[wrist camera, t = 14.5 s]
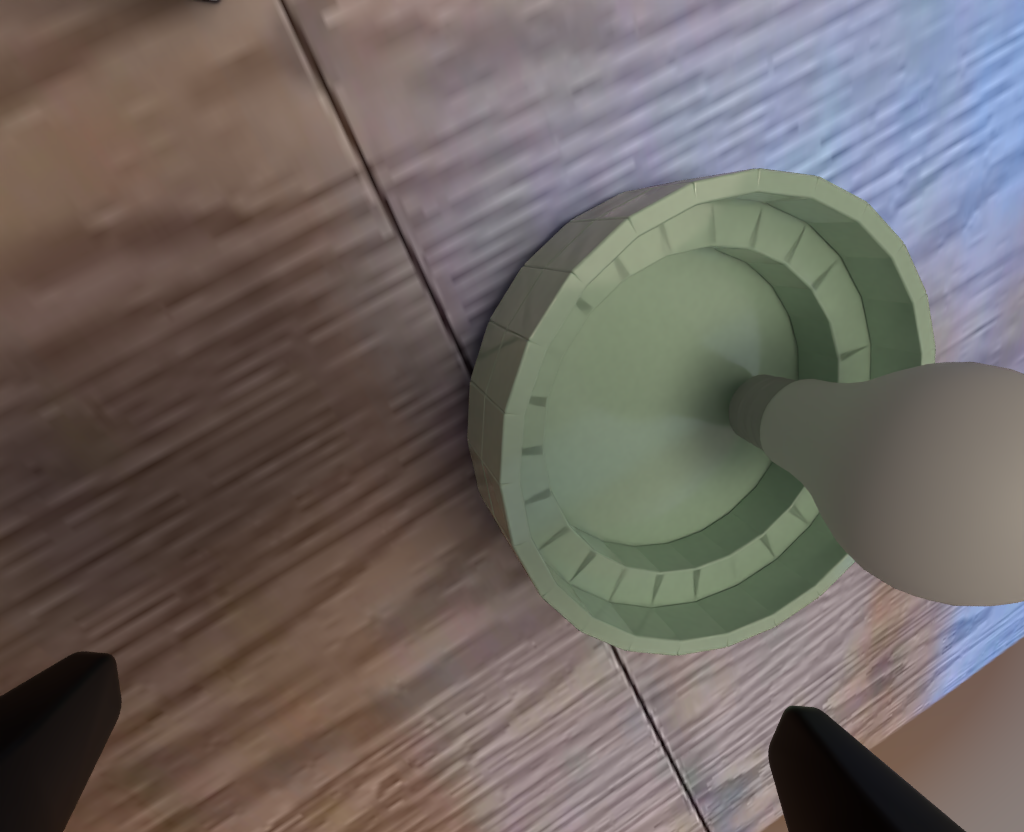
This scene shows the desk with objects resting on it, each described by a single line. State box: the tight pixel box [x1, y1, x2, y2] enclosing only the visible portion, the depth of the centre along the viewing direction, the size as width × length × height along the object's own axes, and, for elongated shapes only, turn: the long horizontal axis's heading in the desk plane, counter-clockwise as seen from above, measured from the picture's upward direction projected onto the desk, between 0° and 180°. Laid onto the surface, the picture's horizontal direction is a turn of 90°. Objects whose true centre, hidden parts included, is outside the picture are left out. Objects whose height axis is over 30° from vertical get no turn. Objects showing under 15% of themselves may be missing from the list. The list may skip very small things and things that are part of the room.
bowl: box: [467, 168, 936, 656], centre depth 20 cm, size 15×15×4 cm
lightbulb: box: [729, 362, 1024, 606], centre depth 17 cm, size 6×6×11 cm
